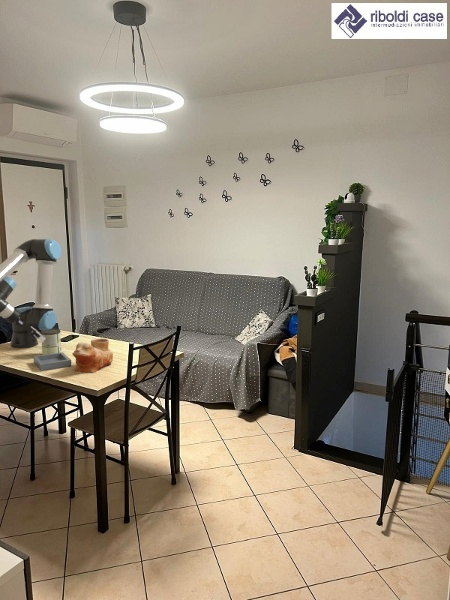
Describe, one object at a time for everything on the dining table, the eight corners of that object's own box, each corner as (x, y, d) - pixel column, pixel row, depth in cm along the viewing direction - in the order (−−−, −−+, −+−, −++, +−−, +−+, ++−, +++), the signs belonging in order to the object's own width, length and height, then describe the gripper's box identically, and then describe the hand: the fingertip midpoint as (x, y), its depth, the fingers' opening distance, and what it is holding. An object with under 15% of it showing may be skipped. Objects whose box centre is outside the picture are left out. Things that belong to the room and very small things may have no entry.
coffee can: (40, 354, 252) (39, 330, 250) (59, 351, 258) (58, 327, 255) (44, 358, 244) (42, 333, 241) (63, 356, 249) (62, 331, 247)
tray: (33, 362, 237) (33, 356, 236) (62, 358, 245) (62, 352, 244) (41, 371, 223) (40, 364, 222) (71, 366, 231) (71, 359, 230)
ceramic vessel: (65, 373, 220) (63, 344, 218) (97, 358, 245) (96, 332, 242) (88, 376, 216) (87, 347, 213) (119, 361, 240) (118, 334, 238)
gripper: (1, 314, 244) (32, 338, 254) (8, 323, 223) (41, 348, 234) (11, 304, 246) (41, 328, 256) (19, 311, 225) (51, 337, 236)
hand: (41, 337), depth 245 cm, fingers open, 13 cm apart
